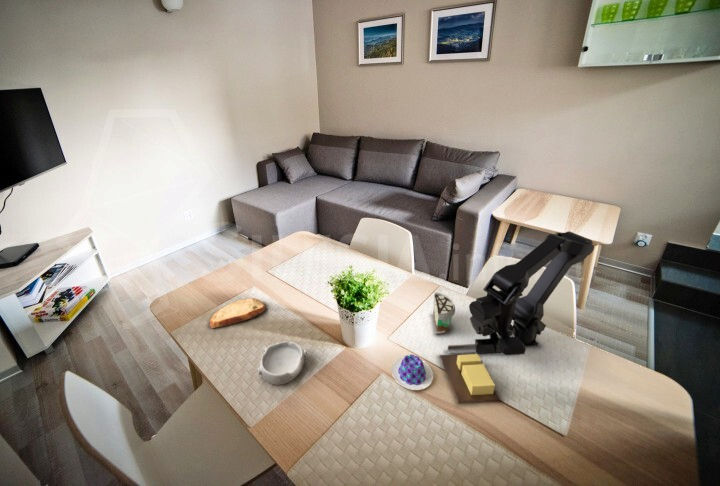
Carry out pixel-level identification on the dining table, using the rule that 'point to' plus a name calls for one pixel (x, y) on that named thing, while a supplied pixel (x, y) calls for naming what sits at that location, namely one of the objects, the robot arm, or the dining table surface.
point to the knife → (474, 347)
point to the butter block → (477, 379)
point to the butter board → (462, 382)
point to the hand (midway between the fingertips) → (495, 348)
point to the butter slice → (468, 360)
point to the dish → (282, 362)
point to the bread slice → (237, 312)
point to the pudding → (412, 372)
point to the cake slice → (442, 313)
